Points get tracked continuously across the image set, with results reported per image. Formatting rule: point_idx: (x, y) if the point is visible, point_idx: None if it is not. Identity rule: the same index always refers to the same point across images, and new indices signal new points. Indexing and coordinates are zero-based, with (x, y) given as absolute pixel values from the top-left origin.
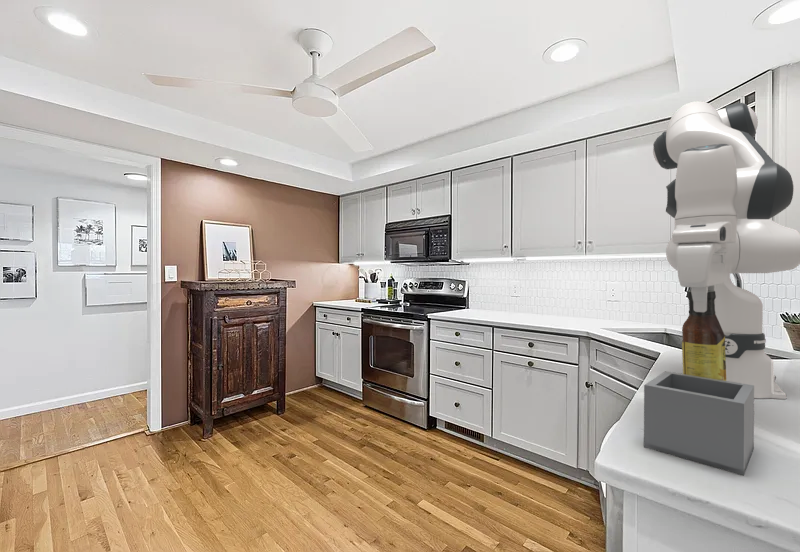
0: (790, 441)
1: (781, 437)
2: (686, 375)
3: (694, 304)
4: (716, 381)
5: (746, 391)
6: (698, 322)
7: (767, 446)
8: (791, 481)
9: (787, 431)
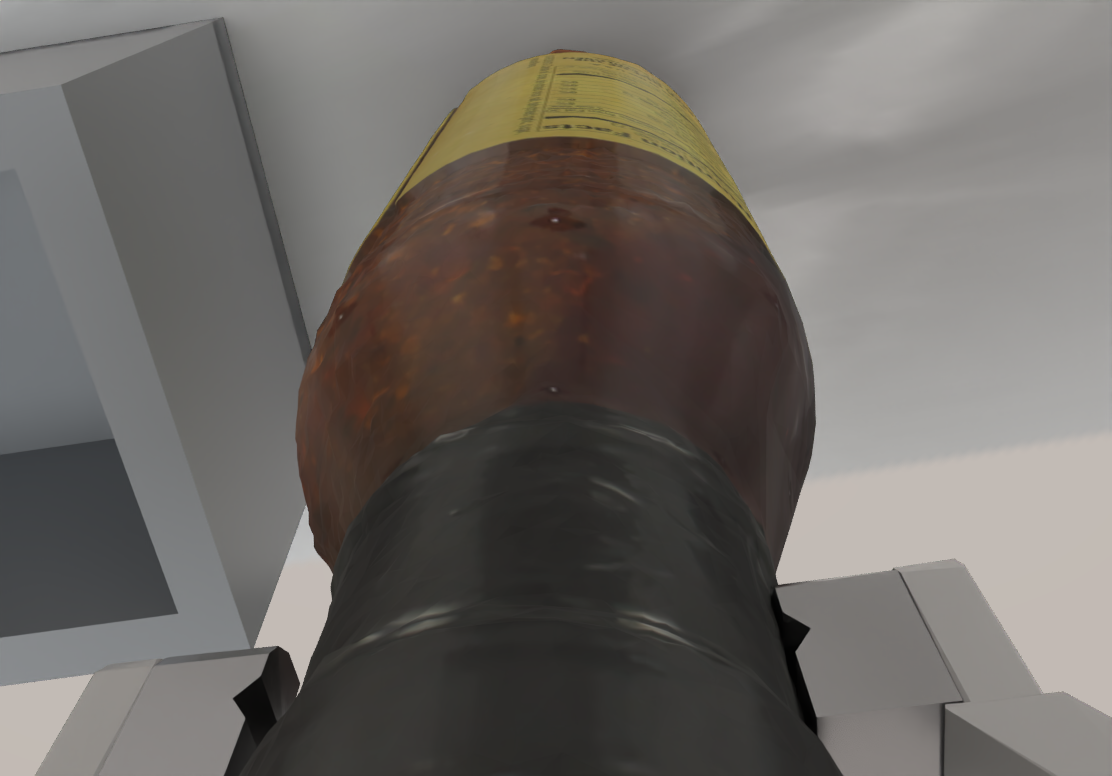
0: None
1: None
2: (82, 277)
3: (43, 773)
4: (129, 477)
5: (8, 668)
6: (324, 537)
7: None
8: None
9: None
